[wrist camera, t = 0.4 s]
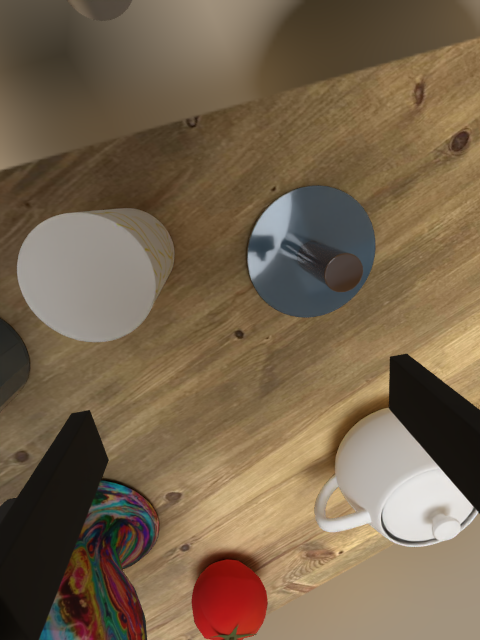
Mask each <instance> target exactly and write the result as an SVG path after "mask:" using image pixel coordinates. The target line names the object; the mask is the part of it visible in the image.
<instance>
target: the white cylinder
mask: <svg viewBox="0 0 480 640" xmlns="http://www.w3.org/2000/svg"><path fill="white" fill-rule="evenodd" d="M174 258H175V252H174V245H173V242H172V239H171V237H170V234H169V233H168V231H167V230H166V228H165V227H164V226H163V224H162V223H161V222H160V221H159V220H157V219H156V218H155V217H153V216H152V215H150V214H148V213H147V212H144V211H141V210H138V209H133V208H120V209H108V210H97V211H86V212H75V213H66V214H61V215H57V216H54V217H51V218H49V219H47V220H45V221H44V222H42V223H40V224H39V225H38V226H37V227H35V228H34V229H33V230H32V231H31V232H30V234H29V235H28V236H27V238H26V239H25V241H24V243H23V244H22V247H21V249H20V252H19V256H18V262H17V275H18V281H19V286H20V289H21V292H22V294H23V296H24V298H25V300H26V302H27V304H28V305H29V307H30V308H31V310H32V311H33V312H34V313H35V314H36V316H37V317H38V318H39V319H40V320H41V321H43V322H44V323H45V324H46V325H47V326H49V327H50V328H52V329H53V330H55V331H57V332H58V333H60V334H62V335H64V336H67V337H69V338H73V339H76V340H80V341H86V342H106V341H111V340H115V339H118V338H121V337H123V336H125V335H127V334H129V333H130V332H132V331H133V330H135V329H136V328H137V327H138V326H139V325H140V324H141V323H142V322H143V321H144V320H145V318H146V317H147V315H148V313H149V312H150V310H151V308H152V306H153V304H154V302H155V301H156V299H157V297H158V295H159V293H160V291H161V289H162V288H163V286H164V284H165V282H166V280H167V278H168V276H169V274H170V273H171V270H172V268H173V264H174Z"/></svg>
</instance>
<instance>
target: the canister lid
mask: <svg viewBox="0 0 480 640" xmlns="http://www.w3.org/2000/svg"><path fill="white" fill-rule="evenodd" d="M374 257H375V235H374V230H373V227H372V223H371V221H370V219H369V217H368V215H367V213H366V212H365V210H364V208H363V207H362V206H361V205H360V204H359V203H358V202H357V201H356V200H355V199H354V198H353V197H351V196H350V195H348V194H347V193H345V192H343V191H341V190H338V189H336V188H332V187H328V186H319V185H318V186H306V187H301V188H297V189H294V190H292V191H289V192H287V193H285V194H283V195H282V196H280V197H279V198H277V199H276V200H274V201H273V202H272V203H271V204H270V205H269V206H268V207H267V208H266V209H265V210H264V211H263V212H262V214H261V215H260V217H259V218H258V220H257V221H256V223H255V225H254V227H253V229H252V232H251V234H250V237H249V241H248V246H247V267H248V272H249V275H250V278H251V281H252V283H253V285H254V287H255V289H256V291H257V292H258V294H259V295H260V296H261V297H262V299H263V300H264V301H265V302H266V303H268V304H269V305H270V306H271V307H273V308H274V309H276V310H278V311H280V312H282V313H284V314H287V315H290V316H295V317H316V316H321V315H324V314H327V313H330V312H332V311H334V310H336V309H338V308H340V307H341V306H343V305H345V304H346V303H347V302H348V301H350V300H351V299H352V298H353V297H354V296H355V295H356V294H357V293H358V291H359V290H360V289H361V288H362V286H363V285H364V283H365V281H366V280H367V278H368V276H369V274H370V271H371V268H372V265H373V261H374Z"/></svg>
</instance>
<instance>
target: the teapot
mask: <svg viewBox="0 0 480 640" xmlns="http://www.w3.org/2000/svg"><path fill="white" fill-rule="evenodd" d="M338 486H339V488H340V490H341V492H342V494H343V496H344V498H345V499H346V500H347V502H348V503H349V504H350V505H351V506H352V508H353V509H354V510H355V511H356V513H353V514H349V515H346V516H342V517H338V518H327V517H326V515H325V509H326V504H327V501H328V499H329V498H330V496H331V494H332V493H333V492H334V490H335V489H336V488H337V487H338ZM314 513H315V518H316V521H317V523H318V525H319V527H320V528H321V529H323V530H324V531H327V532H338V531H344V530H347V529H351V528H355V527H358V526H361V525H364V524H367V523H368V524H369V525H371V526H372V527H373V528H374V529H375V530H377V531H378V532H379V533H380V534H382V535H383V536H384V537H386V538H387V539H388V540H390V541H391V542H394V543H396V544H399V545H403V546H409V547H420V546H428V545H432V544H435V543H439V542H441V541H445V540H449V539H452V538H454V537H455V536H456V535H457V534H458V533H459V532H460V531H462V530H463V529H464V528H466V526H468V525H469V524H470V523H471V522H472V521H473V519H474V518H475V517H476V515H477V514H478V511H477V510H476V509H475V508H474V507H473V506H472V504H471V503H470V502H469V501H468V500H467V499H466V497H465V496H464V495H463V494H462V493H461V492H460V490H459V489H458V488H457V487H456V486H455V485H454V484H453V482H452V481H451V480H450V479H449V478H448V477H447V475H446V474H445V473H444V472H443V471H442V470H441V469H440V467H439V466H438V465H437V464H436V463H435V462H434V460H433V459H432V458H431V457H430V456H429V455H428V453H427V452H426V451H425V450H424V449H423V448H422V447H421V445H420V444H419V443H418V442H417V441H416V440H415V438H414V437H413V436H412V435H411V434H410V433H409V432H408V430H407V429H406V428H405V427H404V426H403V425H402V423H401V422H400V421H399V420H398V419H397V418H396V416H395V415H394V414H393V413H392V412H391V411H390V410H389V407H388V408H384V409H381V410H378V411H376V412H374V413H372V414H369V415H368V416H366V417H365V418H363V419H361V420H360V421H359V422H358V423H357V424H355V425H354V426H353V427H352V428H351V429H350V430H349V432H348V433H347V434H346V435H345V436H344V438H343V440H342V442H341V444H340V445H339V448H338V451H337V454H336V458H335V474H334V475H333V476H332V477H331V478H330V479H329V480H328V481H327V482H326V483H325V485H324V486H323V487H322V489H321V490H320V492H319V494H318V496H317V499H316V502H315V507H314Z"/></svg>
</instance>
